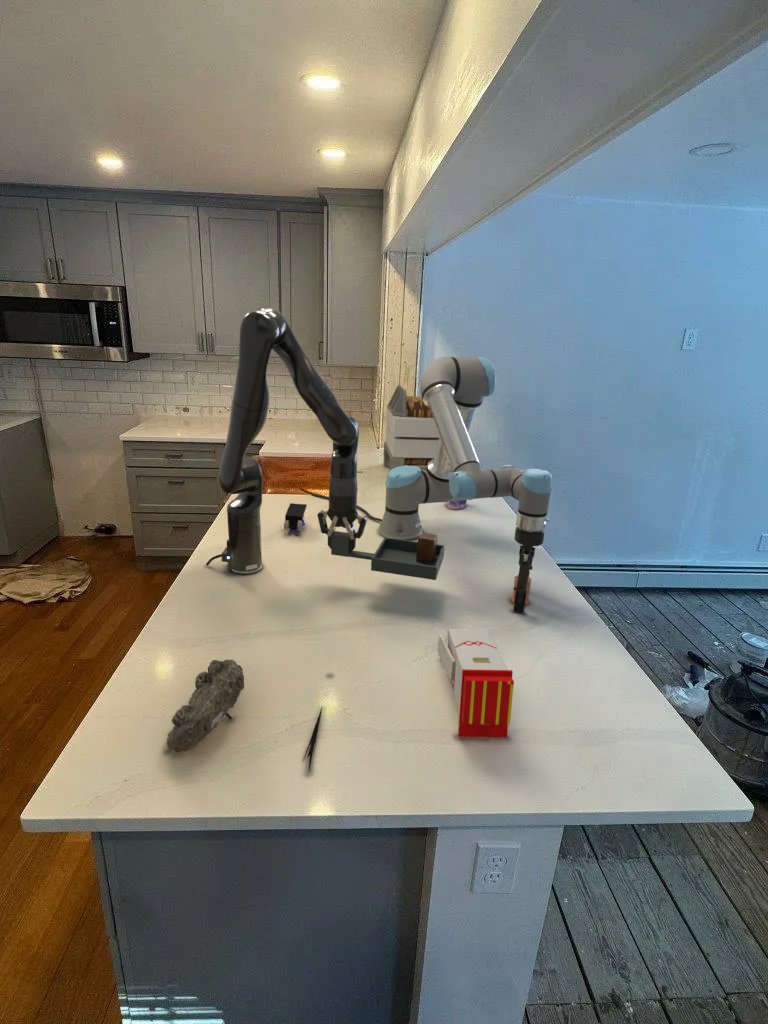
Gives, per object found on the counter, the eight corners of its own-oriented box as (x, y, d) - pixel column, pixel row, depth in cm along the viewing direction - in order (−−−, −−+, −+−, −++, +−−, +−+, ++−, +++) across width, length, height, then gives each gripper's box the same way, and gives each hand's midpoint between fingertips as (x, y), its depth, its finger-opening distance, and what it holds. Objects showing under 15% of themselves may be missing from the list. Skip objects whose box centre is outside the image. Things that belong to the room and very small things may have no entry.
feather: (331, 679, 122) (336, 673, 122) (307, 777, 96) (313, 769, 95) (324, 675, 122) (329, 669, 121) (298, 772, 95) (304, 764, 95)
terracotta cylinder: (508, 600, 157) (511, 577, 155) (518, 595, 160) (521, 573, 158) (521, 607, 154) (524, 584, 151) (531, 602, 157) (535, 579, 154)
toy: (488, 613, 130) (523, 677, 101) (484, 667, 133) (517, 744, 104) (435, 612, 130) (455, 676, 101) (432, 666, 133) (451, 743, 103)
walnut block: (416, 561, 154) (417, 537, 152) (419, 555, 158) (421, 531, 156) (432, 564, 153) (434, 540, 151) (435, 557, 157) (437, 534, 155)
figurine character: (303, 540, 193) (307, 520, 207) (302, 521, 190) (307, 502, 203) (283, 540, 193) (289, 520, 207) (282, 520, 190) (288, 501, 203)
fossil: (192, 660, 117) (244, 628, 112) (224, 691, 120) (276, 661, 115) (142, 746, 98) (202, 712, 93) (182, 779, 101) (242, 748, 96)
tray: (323, 563, 151) (324, 542, 149) (340, 542, 165) (341, 523, 163) (435, 580, 145) (437, 558, 143) (443, 557, 159) (445, 537, 157)
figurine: (453, 511, 224) (457, 474, 219) (439, 503, 233) (442, 468, 228) (473, 508, 228) (476, 472, 223) (458, 500, 237) (462, 466, 232)
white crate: (382, 463, 289) (386, 382, 275) (445, 464, 293) (451, 384, 279) (390, 482, 257) (394, 392, 243) (460, 483, 261) (468, 394, 247)
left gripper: (312, 491, 150) (312, 550, 155) (365, 498, 147) (362, 558, 153) (322, 484, 157) (321, 540, 162) (372, 490, 154) (369, 547, 159)
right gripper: (542, 546, 138) (531, 624, 145) (546, 515, 159) (536, 584, 167) (511, 542, 140) (501, 619, 147) (519, 511, 161) (510, 580, 169)
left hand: (341, 548), depth 157 cm, fingers closed on tray, 5 cm apart
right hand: (520, 600), depth 157 cm, fingers open, 12 cm apart
